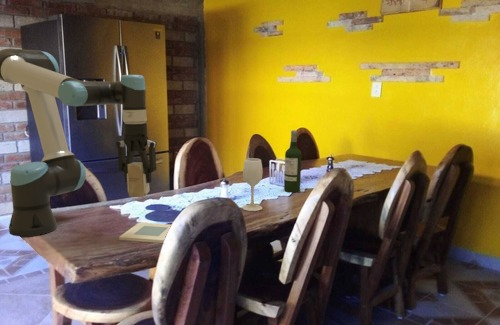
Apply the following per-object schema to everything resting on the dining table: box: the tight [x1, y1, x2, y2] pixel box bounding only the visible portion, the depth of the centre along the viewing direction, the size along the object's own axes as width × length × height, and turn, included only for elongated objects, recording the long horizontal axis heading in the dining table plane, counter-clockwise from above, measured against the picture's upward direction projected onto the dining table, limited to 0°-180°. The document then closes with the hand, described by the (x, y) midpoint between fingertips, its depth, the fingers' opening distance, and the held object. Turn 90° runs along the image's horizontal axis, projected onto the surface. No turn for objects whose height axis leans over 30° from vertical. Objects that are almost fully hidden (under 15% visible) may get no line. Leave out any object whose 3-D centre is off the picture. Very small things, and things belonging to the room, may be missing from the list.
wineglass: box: [241, 157, 263, 212], centre depth 184 cm, size 9×9×21 cm
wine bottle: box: [283, 130, 302, 194], centre depth 215 cm, size 8×8×30 cm
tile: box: [118, 222, 172, 244], centre depth 153 cm, size 16×16×1 cm
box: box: [128, 161, 149, 198], centre depth 147 cm, size 5×4×11 cm
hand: (138, 191), depth 147 cm, fingers closed on box, 5 cm apart
